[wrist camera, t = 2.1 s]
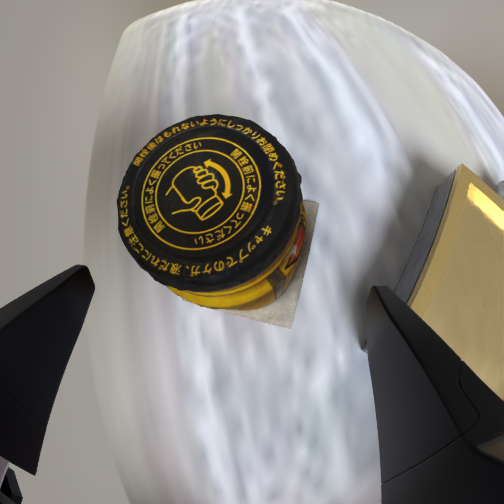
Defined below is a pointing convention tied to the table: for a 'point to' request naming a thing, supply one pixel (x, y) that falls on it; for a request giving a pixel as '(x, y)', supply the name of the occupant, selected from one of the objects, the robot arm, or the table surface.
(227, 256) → the condiment
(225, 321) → the table surface
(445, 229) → the gold square tray
